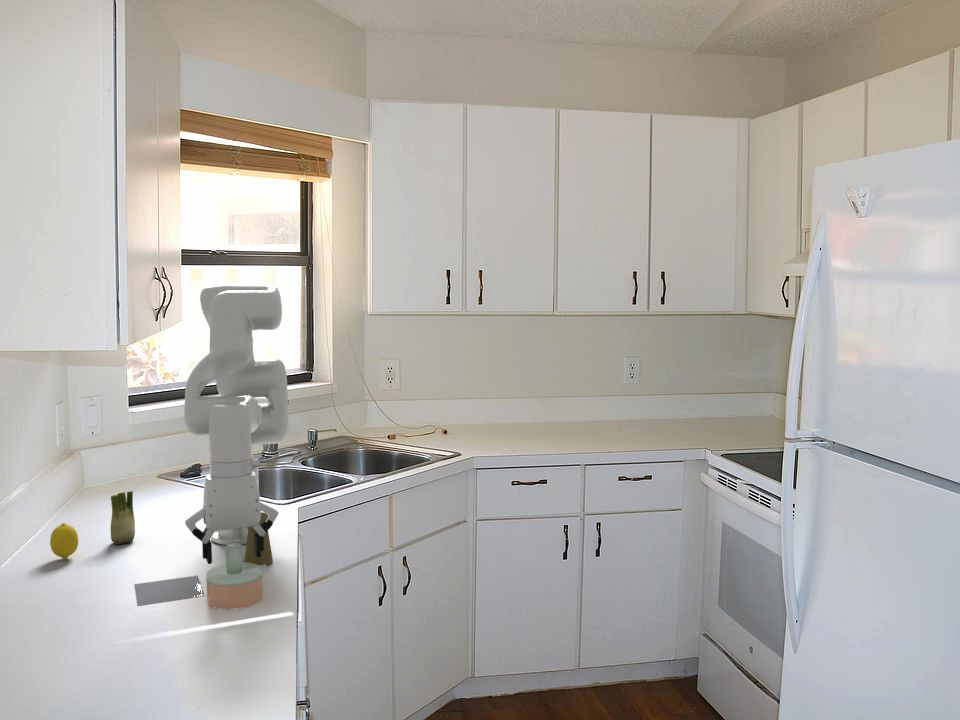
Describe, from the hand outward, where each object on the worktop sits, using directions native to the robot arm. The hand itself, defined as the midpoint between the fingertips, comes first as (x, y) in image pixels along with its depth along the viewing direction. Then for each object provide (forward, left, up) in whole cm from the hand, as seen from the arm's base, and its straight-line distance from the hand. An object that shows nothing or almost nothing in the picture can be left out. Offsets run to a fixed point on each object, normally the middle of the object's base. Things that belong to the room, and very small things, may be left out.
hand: (233, 558), depth 160 cm
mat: (-10, -11, -9) cm, 17 cm away
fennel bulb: (-47, -18, -9) cm, 51 cm away
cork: (-20, +8, -9) cm, 23 cm away
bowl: (0, 0, -9) cm, 9 cm away
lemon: (-40, -30, -9) cm, 51 cm away
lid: (0, 0, -4) cm, 4 cm away
